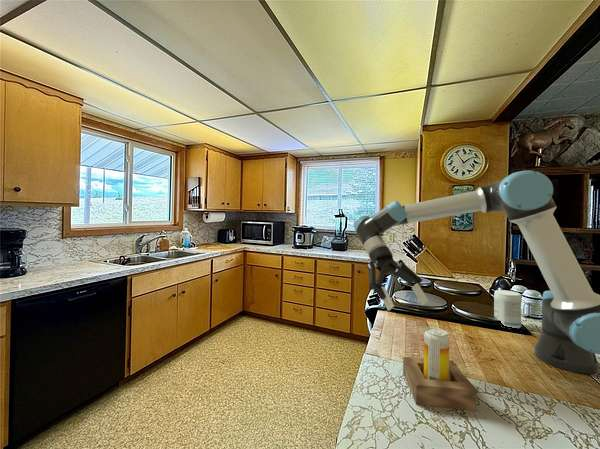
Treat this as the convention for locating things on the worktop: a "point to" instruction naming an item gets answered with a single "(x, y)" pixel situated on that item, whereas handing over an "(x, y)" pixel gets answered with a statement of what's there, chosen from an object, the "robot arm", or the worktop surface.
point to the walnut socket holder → (439, 387)
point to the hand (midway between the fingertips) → (408, 305)
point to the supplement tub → (508, 308)
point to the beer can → (436, 354)
